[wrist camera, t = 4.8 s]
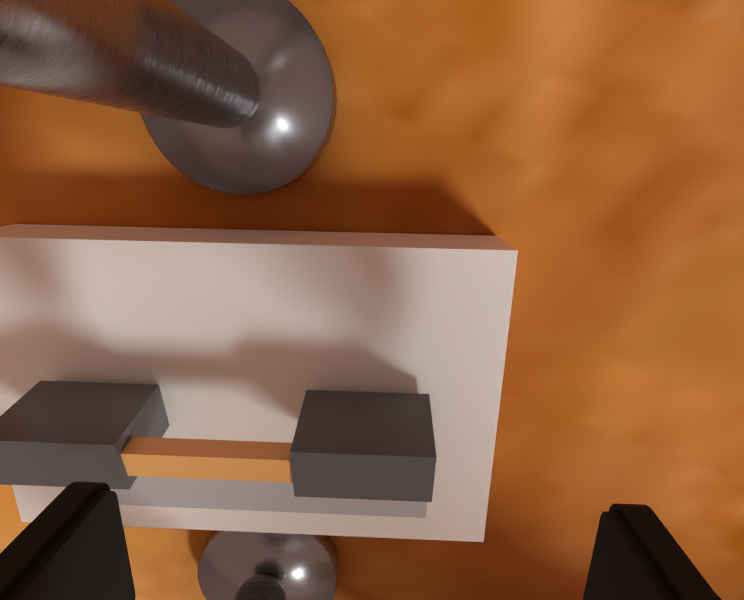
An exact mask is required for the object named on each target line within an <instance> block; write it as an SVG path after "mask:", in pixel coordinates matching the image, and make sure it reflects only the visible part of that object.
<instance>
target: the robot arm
mask: <svg viewBox="0 0 744 600" xmlns="http://www.w3.org/2000/svg"><path fill="white" fill-rule="evenodd" d="M0 600H135V589H134V584H133V578H132V573H131V567H130V562H129V557H128V551H127V546H126V540H125V535H124V529H123V524H122V519H121V513H120V508H119V502H118V497H117V494H116V493H115V492H114V491H111V490H110V487H109V485H108V484H107V483H103V482H80V481H75V482H73V483H71V484H69V485H68V486H67V487H66V488H65V489H64V490H63V491H62V492H61V493H60V494H59V495H58V496H57V497H56V498H55V499H54V500H53V501H52V502H51V503H50V504H49V505H48V506H47V507H46V508H45V509H44V510H43V511H42V512H41V513H40V514H39V515H38V516H37V517H36V518H35V519H34V520H33V521H32V522H31V523H30V524H29V525H28V526H27V527H26V528H25V529H24V530H23V531H22V532H21V533H20V534H19V535H18V536H17V537H16V538H15V539H14V540H13V541H12V542H11V543H10V544H9V545H8V546H7V547H6V548H5V549H4V550H3V551H2V552H1V553H0ZM583 600H721V599H720V597H719V596H718V595H717V594H716V593H715V592H714V591H713V590H712V588H711V587H710V586H709V584H708V583H707V582H706V580H705V579H704V578H703V576H702V575H701V574H700V573H699V571H698V570H697V569H696V567H695V566H694V565H693V563H692V562H691V561H690V559H689V558H688V557H687V555H686V554H685V553H684V551H683V550H682V549H681V547H680V546H679V545H678V543H677V542H676V541H675V539H674V538H673V537H672V535H671V534H670V533H669V531H668V530H667V529H666V527H665V526H664V525H663V523H662V522H661V521H660V520H659V518H658V517H657V516H656V514H655V513H654V512H653V510H652V509H651V508H650V507H648V506H646V505H637V504H613V505H612V506H611V507H610V509H609V512H603V513H602V514H601V517H600V522H599V527H598V531H597V536H596V541H595V545H594V550H593V555H592V559H591V564H590V569H589V573H588V578H587V583H586V587H585V592H584V597H583Z"/></svg>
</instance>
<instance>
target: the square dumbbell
mask: <svg viewBox="0 0 744 600" xmlns="http://www.w3.org/2000/svg"><path fill="white" fill-rule="evenodd" d="M168 427H169V422H168V418H167V414H166V410H165V406H164V402H163V399H162V395H161V391H160V387H159V385H154V384H125V383H97V382H68V381H39V382H38V383H37V384H36V385H35V386H34V387H32V388H31V389H30V390H29V391H28V392H27V393H26V394H25V395H23V396H22V397H21V398H20V399H19V400H18V401H17V402H16V403H14V404H13V405H12V406H11V407H10V408H9V409H8V410H6V411H5V412H4V413H3V414H2V415H1V416H0V484H6V485H30V486H54V487H67V486H68V485H69V484H71V483H73V482H75V481H80V482H103V483H107V484H108V485H109V487H110V489H126V490H130V488H131V487H132V485H133V483H134V482H135V480H136V478H137V477H138V476H141V477H166V478H190V479H215V480H240V481H264V482H289V483H293V489H294V496H295V497H319V498H343V499H367V500H391V501H415V502H432V495H433V486H434V477H435V468H436V458H437V457H436V448H435V440H434V431H433V423H432V414H431V405H430V397H429V394H414V393H385V392H356V391H327V390H306V393H305V397H304V401H303V404H302V408H301V412H300V416H299V419H298V423H297V427H296V431H295V435H294V438H293V442H292V443H287V442H261V441H234V440H208V439H182V438H162V437H163V435H164V434H165V432H166V430H167V429H168Z"/></svg>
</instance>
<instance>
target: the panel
mask: <svg viewBox="0 0 744 600" xmlns="http://www.w3.org/2000/svg"><path fill="white" fill-rule="evenodd" d="M517 254H518V250H516V249H515V248H514V247H512V246H511V245H509V244H508V243H506V242H505V241H504V240H502V239H501V238H499V237H498V236H488V235H447V234H406V233H365V232H324V231H283V230H243V229H202V228H161V227H120V226H79V225H38V224H13V225H7V226H1V227H0V416H1V415H2V414H3V413H4V412H5V411H6V410H8V409H9V408H10V407H11V406H12V405H13V404H14V403H16V402H17V401H18V400H19V399H20V398H21V397H22V396H23V395H25V394H26V393H27V392H28V391H29V390H30V389H31V388H32V387H34V386H35V385H36V384H37V383H38V382H39V381H68V382H97V383H125V384H154V385H159V387H160V391H161V395H162V399H163V402H164V406H165V410H166V414H167V418H168V422H169V427H168V429H167V430H166V432H165V434H164V435H163V437H162V438H182V439H208V440H234V441H261V442H287V443H292V442H293V438H294V435H295V431H296V427H297V423H298V419H299V416H300V412H301V408H302V404H303V401H304V397H305V393H306V390H327V391H356V392H385V393H414V394H429V397H430V405H431V414H432V423H433V431H434V440H435V448H436V457H437V458H436V468H435V477H434V486H433V495H432V502H415V501H391V500H367V499H343V498H319V497H295V496H294V489H293V483H289V482H264V481H240V480H215V479H190V478H166V477H141V476H138V477H137V478H136V480H135V482H134V483H133V485H132V487H131V488H130V490H126V489H110V490H111V491H114V492H115V493H116V494H117V497H118V502H119V508H120V513H121V519H122V524H123V526H128V527H150V528H173V529H196V530H218V531H241V532H264V533H287V534H309V535H332V536H355V537H378V538H400V539H423V540H446V541H469V542H483V541H484V533H485V525H486V516H487V508H488V499H489V491H490V482H491V474H492V465H493V457H494V449H495V440H496V432H497V423H498V415H499V406H500V398H501V389H502V381H503V373H504V364H505V356H506V347H507V339H508V330H509V322H510V313H511V305H512V296H513V288H514V280H515V271H516V263H517ZM12 487H13V491H14V495H15V499H16V502H17V506H18V510H19V513H20V517H21V521H22V522H32V521H33V520H34V519H35V518H36V517H37V516H38V515H39V514H40V513H41V512H42V511H43V510H44V509H45V508H46V507H47V506H48V505H49V504H50V503H51V502H52V501H53V500H54V499H55V498H56V497H57V496H58V495H59V494H60V493H61V492H62V491H63V490H64V489H65V488H66V487H54V486H30V485H12Z"/></svg>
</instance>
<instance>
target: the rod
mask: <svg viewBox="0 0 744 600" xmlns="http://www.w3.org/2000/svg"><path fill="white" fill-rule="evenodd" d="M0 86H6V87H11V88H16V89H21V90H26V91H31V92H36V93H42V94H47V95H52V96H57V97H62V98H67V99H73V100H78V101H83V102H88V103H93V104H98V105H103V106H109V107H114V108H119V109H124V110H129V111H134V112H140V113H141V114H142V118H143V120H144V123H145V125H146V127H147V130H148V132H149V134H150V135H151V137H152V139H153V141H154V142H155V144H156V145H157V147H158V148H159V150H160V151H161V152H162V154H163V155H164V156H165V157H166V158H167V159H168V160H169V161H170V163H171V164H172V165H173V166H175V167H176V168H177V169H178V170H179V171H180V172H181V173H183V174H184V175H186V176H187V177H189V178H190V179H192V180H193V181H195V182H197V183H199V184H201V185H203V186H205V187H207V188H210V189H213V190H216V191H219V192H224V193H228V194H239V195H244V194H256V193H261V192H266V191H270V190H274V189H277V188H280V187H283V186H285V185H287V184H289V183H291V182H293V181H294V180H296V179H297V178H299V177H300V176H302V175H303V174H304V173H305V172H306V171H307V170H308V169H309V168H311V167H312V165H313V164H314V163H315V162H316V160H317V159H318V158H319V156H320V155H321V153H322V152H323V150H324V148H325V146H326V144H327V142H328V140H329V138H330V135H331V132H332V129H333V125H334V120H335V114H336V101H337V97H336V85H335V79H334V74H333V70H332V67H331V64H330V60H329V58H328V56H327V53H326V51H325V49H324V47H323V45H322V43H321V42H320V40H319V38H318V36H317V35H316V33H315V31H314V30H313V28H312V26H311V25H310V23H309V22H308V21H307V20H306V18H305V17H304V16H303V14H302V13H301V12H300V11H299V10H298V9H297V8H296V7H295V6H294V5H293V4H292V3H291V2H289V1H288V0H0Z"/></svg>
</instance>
